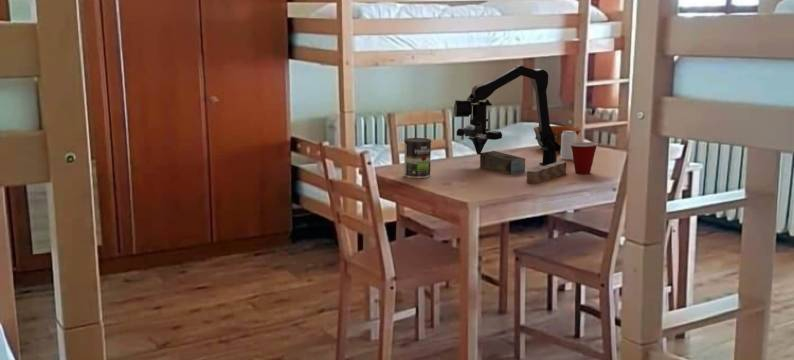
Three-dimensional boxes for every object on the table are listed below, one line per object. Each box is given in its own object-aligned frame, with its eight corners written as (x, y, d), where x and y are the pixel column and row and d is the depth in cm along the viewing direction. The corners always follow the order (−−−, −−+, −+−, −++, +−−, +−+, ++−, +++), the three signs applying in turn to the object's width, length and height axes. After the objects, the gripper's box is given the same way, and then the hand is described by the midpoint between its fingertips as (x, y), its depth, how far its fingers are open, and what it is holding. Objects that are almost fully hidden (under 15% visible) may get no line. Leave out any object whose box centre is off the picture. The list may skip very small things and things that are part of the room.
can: (577, 158, 352) (579, 130, 350) (572, 160, 347) (573, 132, 344) (563, 156, 356) (565, 129, 353) (558, 159, 350) (559, 131, 348)
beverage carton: (510, 175, 318) (511, 158, 316) (478, 167, 333) (479, 151, 332) (525, 173, 322) (526, 156, 321) (493, 165, 338) (493, 149, 336)
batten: (559, 172, 323) (559, 161, 322) (565, 173, 321) (566, 162, 320) (526, 183, 303) (527, 171, 302) (533, 184, 301) (534, 172, 300)
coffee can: (435, 177, 313) (436, 140, 310) (411, 179, 308) (412, 142, 305) (422, 172, 322) (422, 136, 319) (399, 174, 317) (399, 138, 314)
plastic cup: (578, 168, 330) (579, 139, 327) (601, 172, 322) (603, 142, 319) (562, 172, 322) (564, 142, 320) (586, 176, 315) (588, 146, 312)
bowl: (537, 144, 388) (538, 123, 386) (583, 147, 380) (584, 126, 378) (528, 151, 369) (529, 129, 366) (575, 154, 361) (576, 132, 359)
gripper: (449, 116, 329) (448, 154, 332) (488, 120, 318) (487, 160, 321) (464, 113, 338) (463, 151, 341) (503, 117, 326) (502, 156, 330)
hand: (478, 154), depth 333 cm, fingers closed
